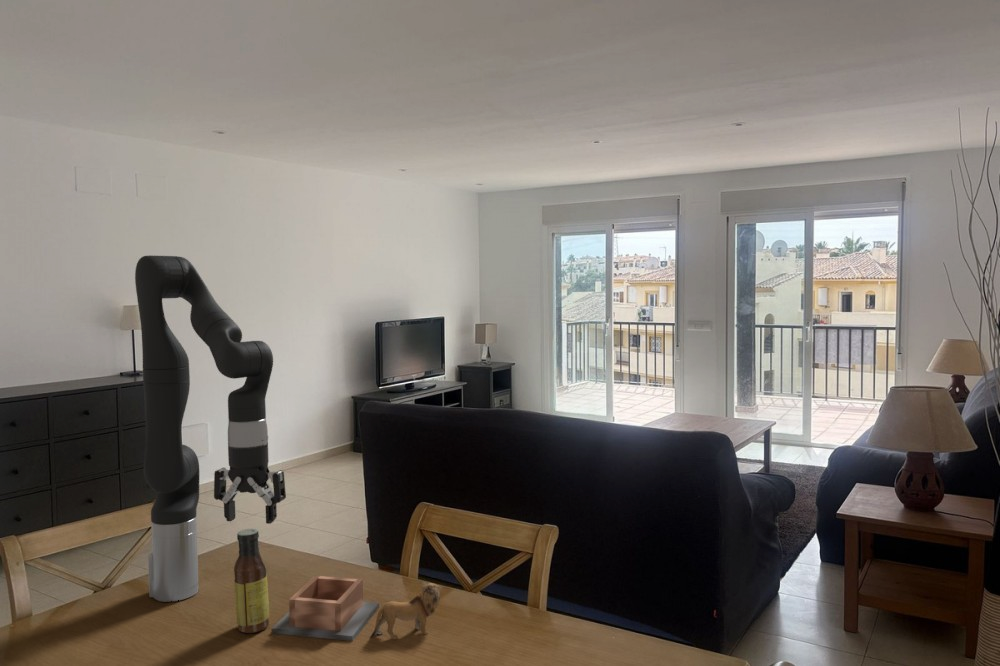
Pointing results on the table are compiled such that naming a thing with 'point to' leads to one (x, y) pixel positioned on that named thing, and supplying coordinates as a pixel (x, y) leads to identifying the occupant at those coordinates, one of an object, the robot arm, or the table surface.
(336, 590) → the bottle holder
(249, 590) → the sauce bottle
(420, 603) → the lion figurine
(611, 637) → the table surface
